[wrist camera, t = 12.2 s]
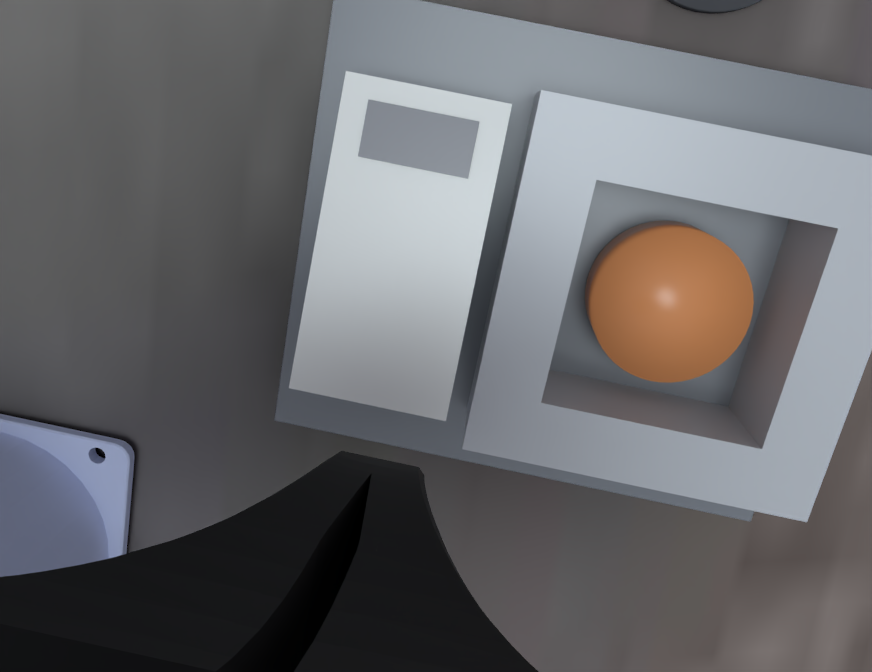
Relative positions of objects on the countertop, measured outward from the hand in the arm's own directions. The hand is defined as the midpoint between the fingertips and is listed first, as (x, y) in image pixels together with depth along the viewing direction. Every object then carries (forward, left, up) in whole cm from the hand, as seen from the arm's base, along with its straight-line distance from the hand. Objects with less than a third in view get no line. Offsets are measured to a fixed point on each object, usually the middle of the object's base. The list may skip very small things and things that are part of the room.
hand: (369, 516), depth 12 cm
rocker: (-1, +3, -7) cm, 8 cm away
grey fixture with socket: (+3, +3, -10) cm, 11 cm away
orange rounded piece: (+5, +3, -8) cm, 10 cm away
